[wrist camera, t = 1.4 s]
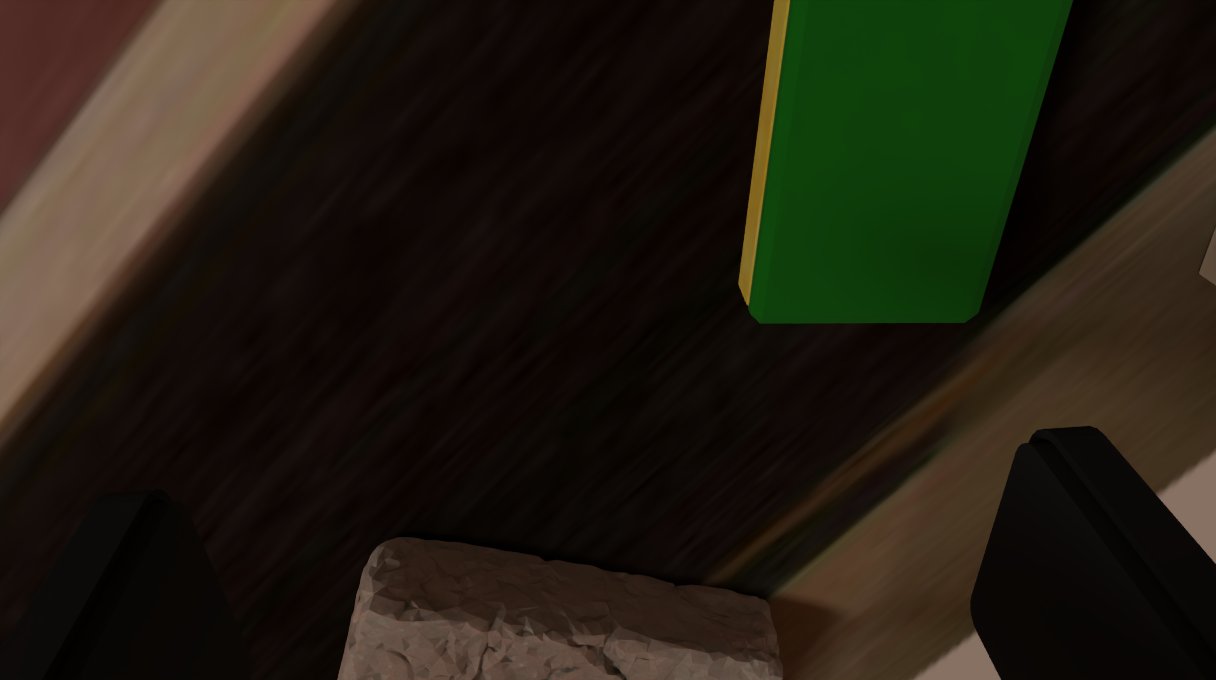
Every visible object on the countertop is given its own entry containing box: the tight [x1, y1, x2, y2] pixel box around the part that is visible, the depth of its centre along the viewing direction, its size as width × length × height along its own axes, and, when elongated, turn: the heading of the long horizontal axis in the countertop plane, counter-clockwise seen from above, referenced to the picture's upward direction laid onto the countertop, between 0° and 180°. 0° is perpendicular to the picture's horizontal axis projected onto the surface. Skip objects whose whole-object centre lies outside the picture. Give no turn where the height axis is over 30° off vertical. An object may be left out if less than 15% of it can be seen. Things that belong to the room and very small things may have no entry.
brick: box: [338, 537, 783, 680], centre depth 33 cm, size 17×8×5 cm, turn 72°
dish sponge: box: [739, 0, 1073, 323], centre depth 23 cm, size 7×14×2 cm, turn 178°
